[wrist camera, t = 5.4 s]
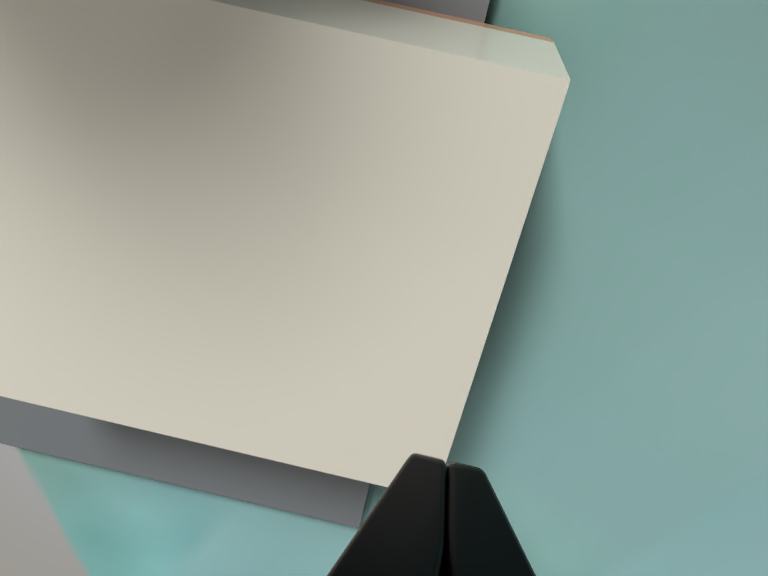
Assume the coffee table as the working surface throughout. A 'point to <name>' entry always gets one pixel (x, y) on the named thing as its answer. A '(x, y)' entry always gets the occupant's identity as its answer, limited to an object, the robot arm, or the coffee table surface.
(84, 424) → the mat
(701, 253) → the coffee table surface
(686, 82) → the coffee table surface
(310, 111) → the cream rectangular block
